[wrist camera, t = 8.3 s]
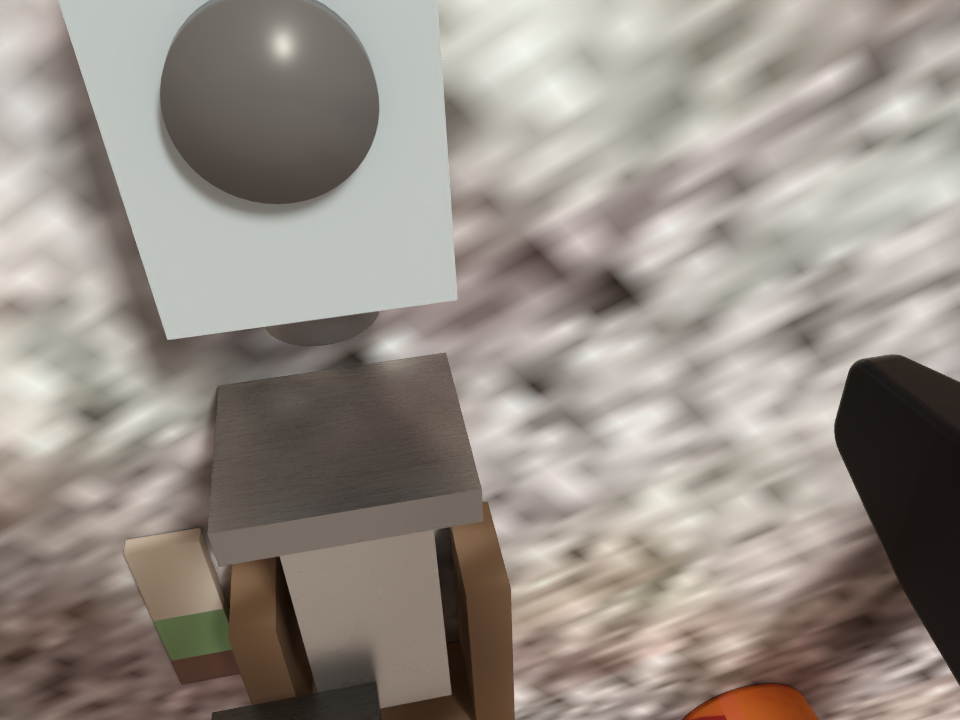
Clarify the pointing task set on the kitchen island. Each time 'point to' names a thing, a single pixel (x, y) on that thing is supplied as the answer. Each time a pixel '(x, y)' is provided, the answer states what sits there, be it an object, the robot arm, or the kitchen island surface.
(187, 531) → the housing
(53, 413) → the kitchen island surface
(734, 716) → the coffee cup
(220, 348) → the kitchen island surface
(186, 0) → the block with dome knob
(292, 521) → the metal-capped square post
